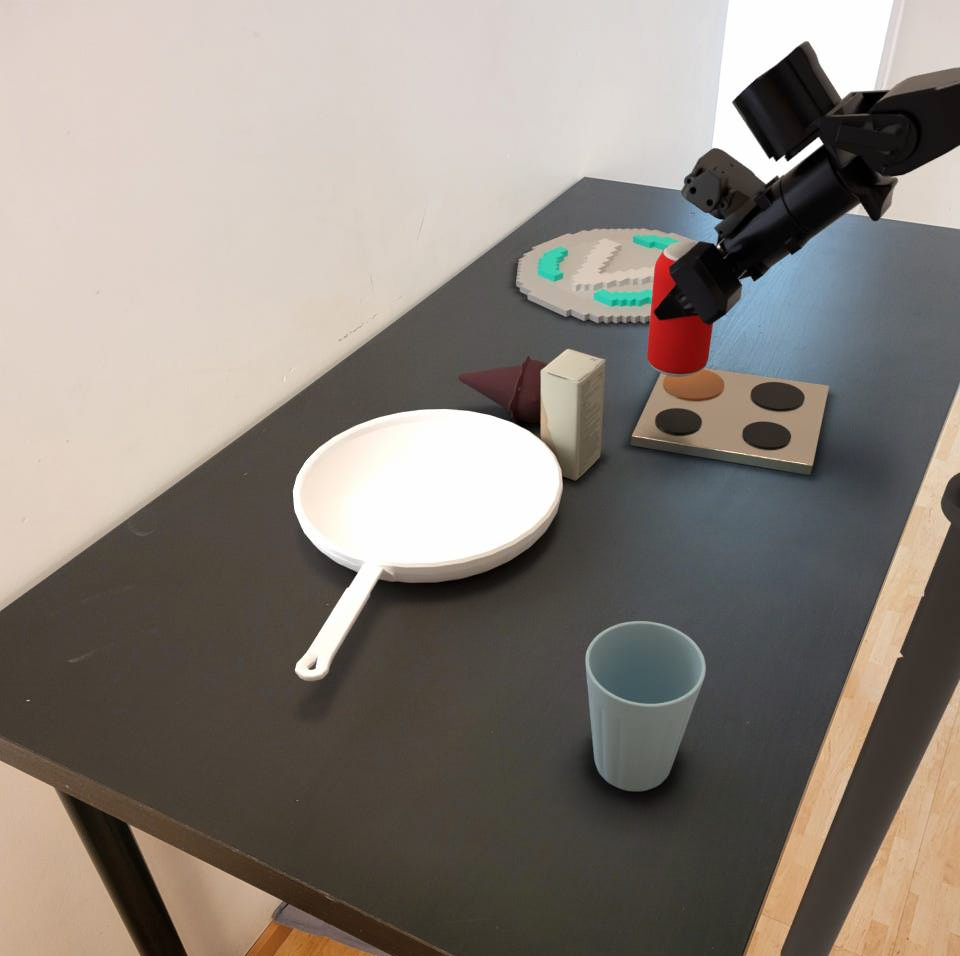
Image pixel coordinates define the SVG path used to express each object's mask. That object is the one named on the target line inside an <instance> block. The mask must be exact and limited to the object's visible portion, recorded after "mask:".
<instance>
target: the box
mask: <svg viewBox="0 0 960 956" xmlns="http://www.w3.org/2000/svg"><path fill="white" fill-rule="evenodd" d="M547 364H548V365H547V366H546V367H545V368H543V369H542V370H541V421H540V440H541V441H543V442H544V443H545V444H546V445H547V446H548V448H549V449H550V450H551V451H552V452H553V454H554V455H555V457H556V459H557V461H558V463H559V466H560V468H561V472H562V478H566V479H568V480H572V481H577V480H578V479H580V478H581V477H582V476H583V475H584V474H585V473H586V472H587V471H588V470H589V469H590V468H591V467H592V466H593V465H594V464H595V463H596V462H597V461H598V460H599V459H600V458H601V451H602V449H601V448H602V433H603V431H602V430H603V414H604V398H605V397H604V395H605V394H604V393H605V378H606V377H605V374H606V359H605V358H601V357H597V356H594V355H590V354H587V353H584V352H581V351H577V350H574V349H571V348H567V349H565V350H564V351H563V352H562V353H560V354H559V355H557V357H555V358H554V359H553V360H551V361H550V362H549V363H547Z"/></svg>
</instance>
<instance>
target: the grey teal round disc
mask: <svg viewBox="0 0 960 956" xmlns="http://www.w3.org/2000/svg"><path fill="white" fill-rule="evenodd" d="M684 241H693V242H698V240H694V239H691V238H689V237H686V236H683V235H680V234H677V233H675V232H670V233H667V232H664V231H661V230H658V229H653V230H651V229H648V228H644V227H642V228H640V229H639V228H637V227H634V228H629V227H627V228H624V229H623V228H620V227H618V228H616V229H615V228H612V227H611V228H609V229H608V228H605V227H603V228H601V229H600V228H593V229H591V230H586V229H583V230H581V231H578V232H576V233H573V234H571V233H570V232H567V233H566V234H563V235H560V236H558V237H555V238H553V239H549V240H547V241H545V242H542V243H540V244H537V245H535V246H532V247H531V250H530V251H528V252H525V253H523V254H522V257H521V258H519V259H518V262H517V270H516V271H517V272H516V279H515V286H516V288H519V292H520V293H522V294H523V295H526V296H527V301H530V302H533V303H535V304H537V305H539V306H541V307H543V308H546V309H548V310H550V311H552V312H554V313H556V314H559V315H561V316H563V317H565V318H567V317H569V316H572V317H574V318H576V319H578V320H580V321H583V322H586V321H592V322H594V323H596V324H601V323H602V322H603V323H605V324H609V323H611V322H612V323H614V324H618V323H620V322H622V323H623V324H628V323H633V324H637V323H639V322H640V323H642V324H646V323H648V322H649V323H650V314H651V303H652V291H653V279H654V268H655V264H656V261H657V259H658V258H659V256H660V255H661V253H662V252H663V250H664V249H665V248H666V247H668V246H669V245H671V244H673V243H677V242H684Z"/></svg>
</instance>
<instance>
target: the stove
mask: <svg viewBox="0 0 960 956" xmlns="http://www.w3.org/2000/svg"><path fill="white" fill-rule="evenodd" d="M829 391H830V385H826V384H820V383H815V382H806V381H799V380H793V379H785V378H777V377H772V376H771V377H770V376H764V375H756V374H750V373H741V372H736V371H735V372H734V371H729V370H728V371H727V370H720V369H715V368H714V369H713V368H707V367H704V368H703V369H702V370H701V371H699V372H697V373H694V374H692V375H689V376H683V377H672V376H667V375H665V374H663V373H661V372H659V376H658V378H657V380H656V382H655V384H654V386H653V389H652V391H651V393H650V395H649V398H648V400H647V402H646V404H645V406H644V409H643V410H642V412H641V414H640V417H639V419H638V421H637V422H636V423H637V424H636V426H635V428H634V429H633V432H632V434H631V438H630V439H631V440H630V446H632V447H638V448H644V449H651V450H655V451H662V452H668V453H674V454H679V455H680V454H681V455H686V456H692V457H698V458H704V459H709V460H715V461H722V462H728V463H734V464H739V465H744V466H745V465H746V466H752V467H758V468H765V469H770V470H776V471H780V472H781V471H782V472H787V473H794V474H800V475H806V476H811V475H812V471H813V467H814V463H815V457H816V454H817V453H816V452H817V448H818V447H817V446H818V442H819V438H820V433H821V430H822V429H821V428H822V424H823V418H824V413H825V408H826V405H827V399H828V394H829Z"/></svg>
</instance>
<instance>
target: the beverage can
mask: <svg viewBox="0 0 960 956" xmlns="http://www.w3.org/2000/svg"><path fill="white" fill-rule="evenodd" d="M698 242H699V241H697V242H693V241H684V242H677V243H673V244H671V245H669V246H668V247H666V248H665V249H664V250H663V252H662V253H661V255H660V256H659V258H658V259H657V261H656V264H655V268H654V279H653V291H652V303H651V314H650V322H649V327H648V329H649V330H648V339H647V342H648V343H647V351H646V358H647V361H648V363H649V365H650V366H651V367H652V368H653V369H654V370H656V371H657V372H659V373H663V374H665V375H667V376H672V377H683V376H689V375H692V374H694V373H697V372H699V371H701V370H702V369H703V368H706V366H707V364H708V361H709V356H710V349H711V341H712V335H713V327H714V323H713V324H711V325H708V324H705V323H704V322H703V321H702V320H701V318H700V317H699V316H690V317H682V318H674V319H667V320H659V319H658V318H657V317H656V315H655V314H654V310H655V309H656V307H657V306H658V305H659V304H660V303H661V301H662V300H663V299H664V298H665V297H666V295H667V294H668V293H669V292H670V291H671V289H672V288H673V287H674V286H675V284H676V283H675V281H674V280H673V279H672V277H671V276H670V272H669V266H671V265H672V264H673V263H674V262H675V261H676V260H677V259H679V258H680V257H681V256H682V255H683V254H684V253H686V252H687V251H688V250H689V249H690V248H692V247H693V246H694V245H695V244H697V243H698Z"/></svg>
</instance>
